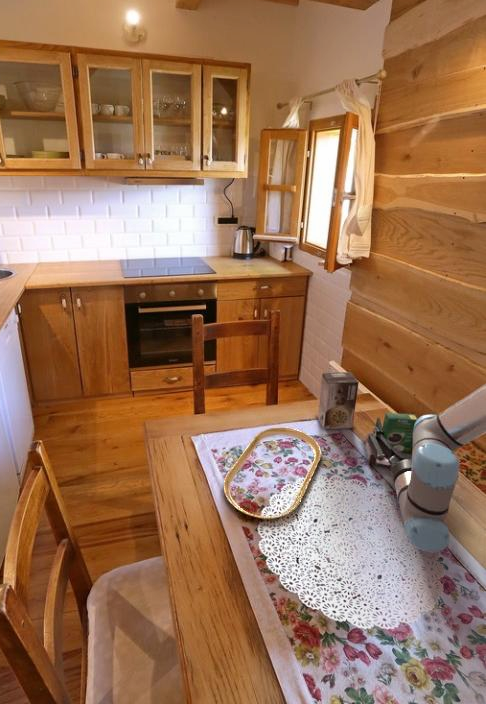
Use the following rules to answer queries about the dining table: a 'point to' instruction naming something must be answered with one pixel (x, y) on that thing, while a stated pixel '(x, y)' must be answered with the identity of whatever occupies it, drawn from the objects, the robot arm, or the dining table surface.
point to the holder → (371, 456)
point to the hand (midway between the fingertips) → (394, 424)
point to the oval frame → (250, 449)
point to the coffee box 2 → (399, 431)
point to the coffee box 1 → (337, 400)
